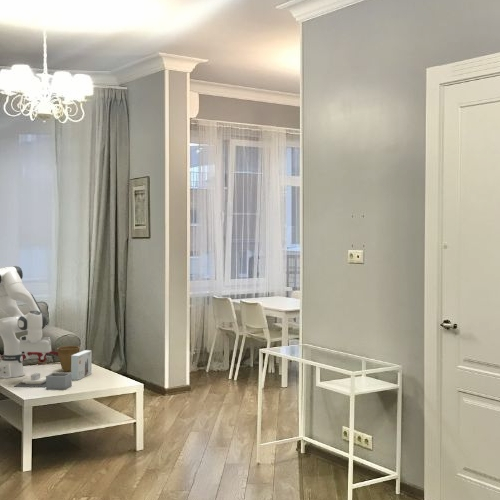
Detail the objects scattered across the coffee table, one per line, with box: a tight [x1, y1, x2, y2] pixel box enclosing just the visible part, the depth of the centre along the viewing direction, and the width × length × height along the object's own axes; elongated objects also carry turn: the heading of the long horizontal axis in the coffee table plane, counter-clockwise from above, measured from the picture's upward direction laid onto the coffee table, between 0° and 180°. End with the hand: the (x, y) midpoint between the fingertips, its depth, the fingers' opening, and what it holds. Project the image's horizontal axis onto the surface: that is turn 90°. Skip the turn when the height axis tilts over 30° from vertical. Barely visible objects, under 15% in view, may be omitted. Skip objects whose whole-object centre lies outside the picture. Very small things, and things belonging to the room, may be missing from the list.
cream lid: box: [21, 372, 46, 385], centre depth 440 cm, size 13×11×6 cm
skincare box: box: [70, 349, 93, 381], centre depth 460 cm, size 21×6×16 cm, turn 168°
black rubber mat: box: [13, 381, 46, 388], centre depth 440 cm, size 20×18×1 cm
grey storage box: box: [45, 372, 73, 391], centre depth 429 cm, size 12×10×8 cm
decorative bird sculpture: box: [23, 350, 59, 365], centre depth 505 cm, size 28×9×15 cm
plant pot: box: [56, 345, 81, 373], centre depth 480 cm, size 15×15×16 cm
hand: (35, 359), depth 440 cm, fingers open, 8 cm apart
